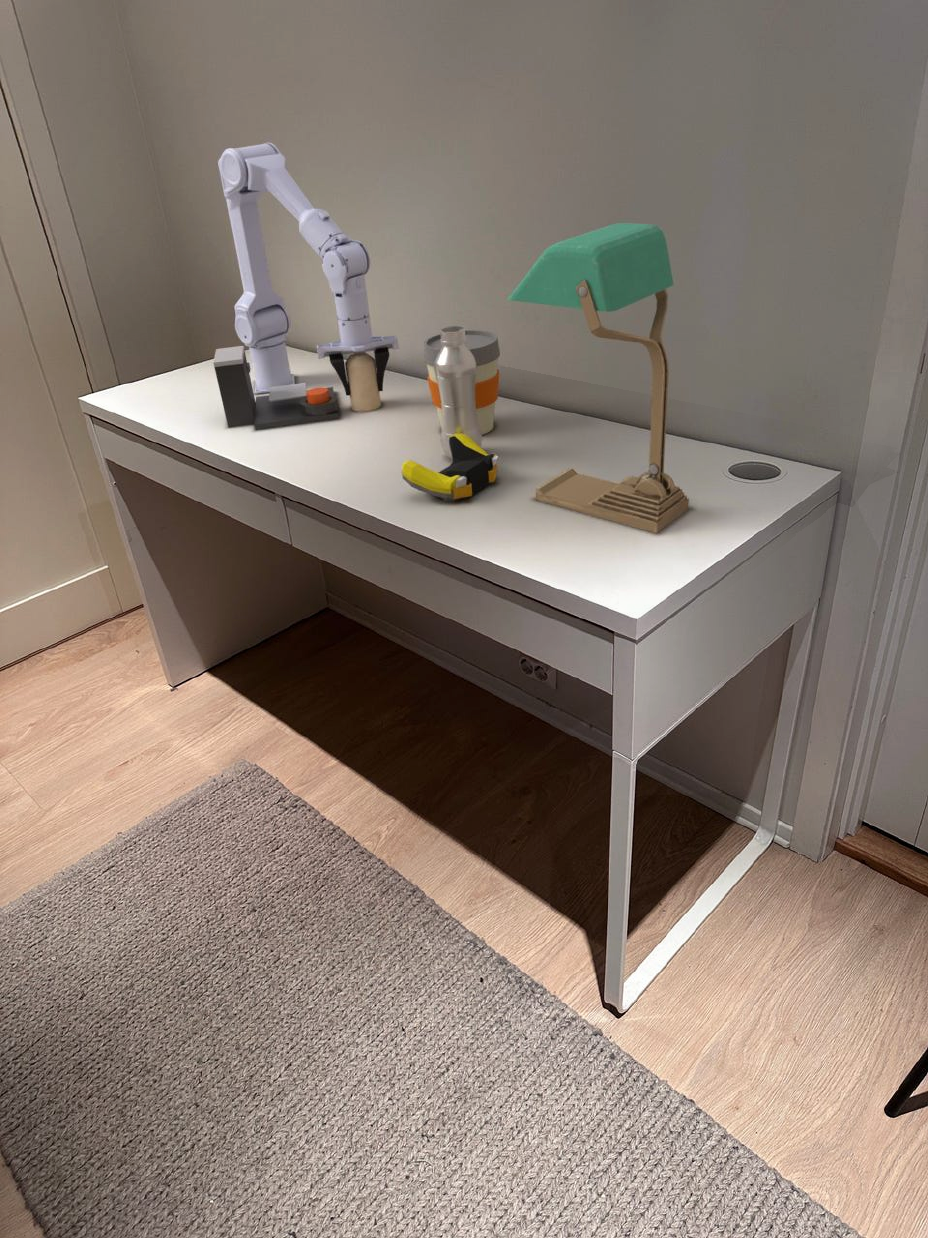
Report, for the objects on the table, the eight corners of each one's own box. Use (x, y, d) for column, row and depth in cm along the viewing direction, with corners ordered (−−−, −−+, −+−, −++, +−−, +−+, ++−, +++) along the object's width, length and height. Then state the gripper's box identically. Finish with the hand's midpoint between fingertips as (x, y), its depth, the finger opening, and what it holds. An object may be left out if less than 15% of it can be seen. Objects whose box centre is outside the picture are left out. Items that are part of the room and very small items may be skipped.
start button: (307, 399, 162) (305, 388, 160) (329, 396, 162) (327, 386, 161) (308, 406, 158) (306, 395, 157) (330, 403, 159) (328, 392, 158)
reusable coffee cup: (518, 428, 148) (514, 339, 140) (455, 447, 143) (447, 356, 135) (478, 409, 158) (472, 325, 149) (418, 427, 152) (408, 340, 144)
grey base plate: (257, 402, 171) (253, 387, 169) (335, 392, 172) (333, 377, 171) (255, 430, 157) (252, 414, 156) (341, 419, 159) (338, 403, 157)
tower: (230, 409, 168) (216, 346, 162) (308, 399, 170) (297, 336, 164) (228, 427, 160) (213, 362, 153) (310, 416, 161) (298, 351, 155)
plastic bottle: (491, 453, 140) (484, 326, 129) (463, 467, 136) (452, 337, 125) (462, 445, 144) (452, 320, 133) (433, 458, 140) (421, 331, 129)
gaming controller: (398, 498, 128) (452, 512, 123) (394, 463, 125) (449, 476, 120) (459, 461, 138) (511, 473, 133) (456, 428, 135) (509, 438, 130)
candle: (379, 410, 161) (372, 356, 156) (349, 412, 162) (341, 358, 156) (382, 400, 166) (375, 347, 160) (353, 402, 166) (345, 349, 161)
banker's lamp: (641, 544, 111) (652, 251, 92) (512, 507, 123) (498, 240, 104) (701, 498, 121) (722, 224, 102) (575, 468, 133) (573, 217, 114)
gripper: (313, 326, 151) (325, 403, 158) (396, 316, 152) (405, 393, 160) (312, 317, 156) (324, 391, 164) (392, 307, 158) (400, 381, 165)
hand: (363, 391), depth 162 cm, fingers closed on candle, 5 cm apart
